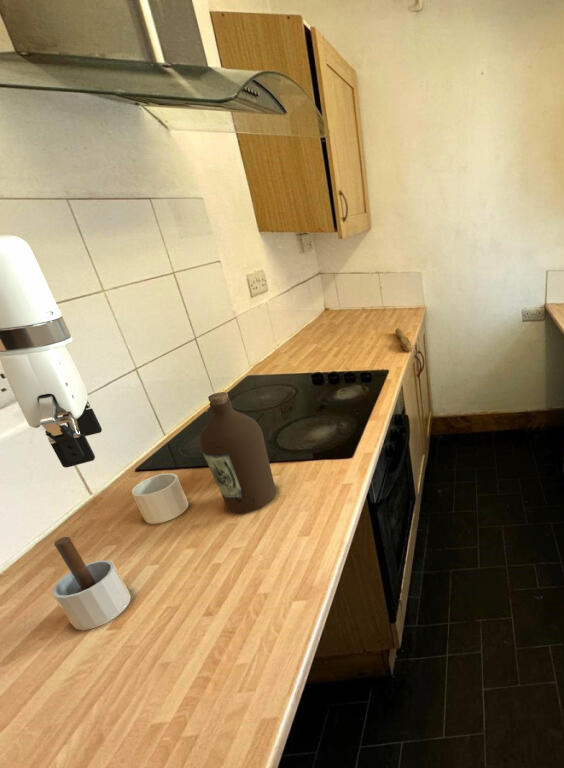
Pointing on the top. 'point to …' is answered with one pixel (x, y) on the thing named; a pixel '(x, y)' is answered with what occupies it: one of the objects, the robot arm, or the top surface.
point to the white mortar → (93, 596)
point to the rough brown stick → (403, 340)
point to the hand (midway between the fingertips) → (84, 448)
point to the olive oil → (237, 457)
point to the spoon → (74, 563)
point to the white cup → (160, 498)
